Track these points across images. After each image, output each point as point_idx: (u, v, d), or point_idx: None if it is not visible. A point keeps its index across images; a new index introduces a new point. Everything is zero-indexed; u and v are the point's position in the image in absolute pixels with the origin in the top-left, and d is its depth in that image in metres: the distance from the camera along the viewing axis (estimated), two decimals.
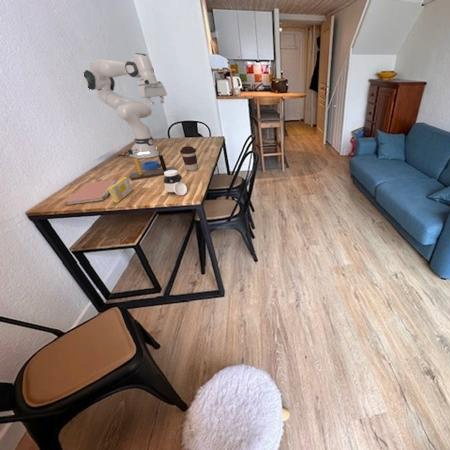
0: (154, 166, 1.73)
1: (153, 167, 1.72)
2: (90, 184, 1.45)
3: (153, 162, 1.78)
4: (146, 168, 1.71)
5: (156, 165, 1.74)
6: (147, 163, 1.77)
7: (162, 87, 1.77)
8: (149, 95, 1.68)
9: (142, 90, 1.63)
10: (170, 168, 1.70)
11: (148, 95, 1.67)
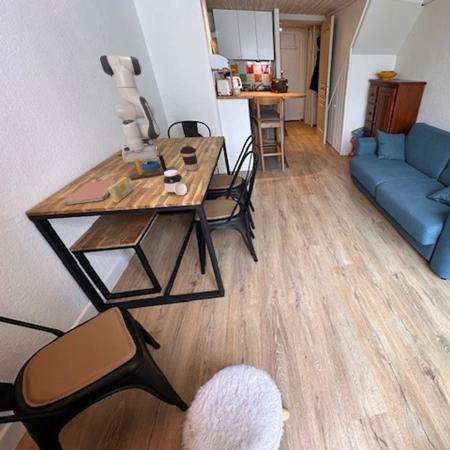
0: (154, 166, 1.73)
1: (153, 167, 1.72)
2: (90, 184, 1.45)
3: (153, 162, 1.78)
4: (146, 168, 1.71)
5: (156, 165, 1.74)
6: (147, 163, 1.77)
7: (151, 151, 1.71)
8: (130, 160, 1.66)
9: (122, 155, 1.64)
10: (170, 168, 1.70)
11: (129, 160, 1.66)
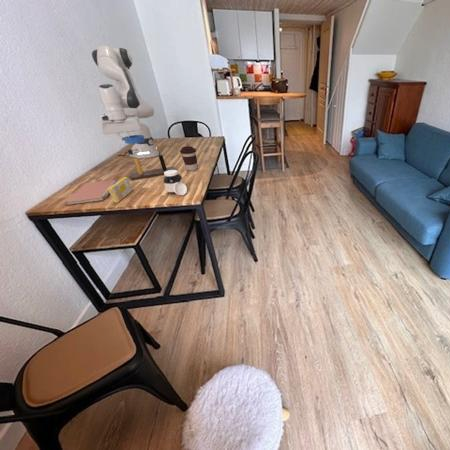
0: (138, 139, 1.53)
1: (137, 140, 1.52)
2: (90, 184, 1.45)
3: (137, 136, 1.59)
4: (129, 141, 1.51)
5: (140, 138, 1.54)
6: (130, 137, 1.57)
7: (134, 122, 1.51)
8: (110, 132, 1.47)
9: None
10: (170, 168, 1.70)
11: (108, 132, 1.46)
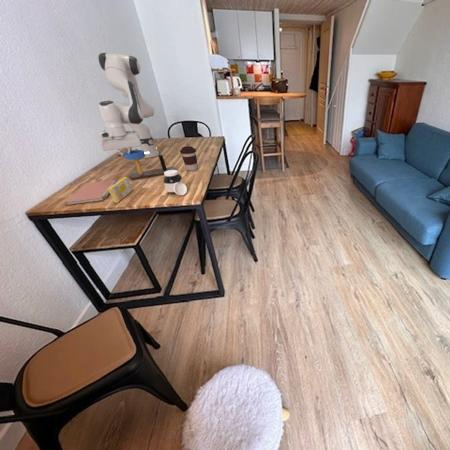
0: (138, 155, 1.51)
1: (137, 156, 1.51)
2: (90, 184, 1.45)
3: (138, 151, 1.57)
4: (129, 157, 1.50)
5: (140, 154, 1.52)
6: (131, 152, 1.56)
7: (134, 138, 1.49)
8: (110, 148, 1.45)
9: (100, 142, 1.42)
10: (170, 168, 1.70)
11: (108, 148, 1.45)
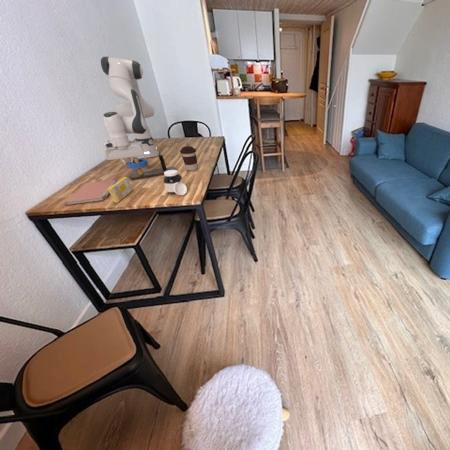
0: (141, 164, 1.54)
1: (140, 166, 1.54)
2: (90, 184, 1.45)
3: (140, 160, 1.60)
4: (132, 167, 1.53)
5: (143, 163, 1.55)
6: (134, 161, 1.59)
7: (137, 147, 1.52)
8: (113, 158, 1.48)
9: (104, 152, 1.45)
10: (170, 168, 1.70)
11: (112, 158, 1.48)
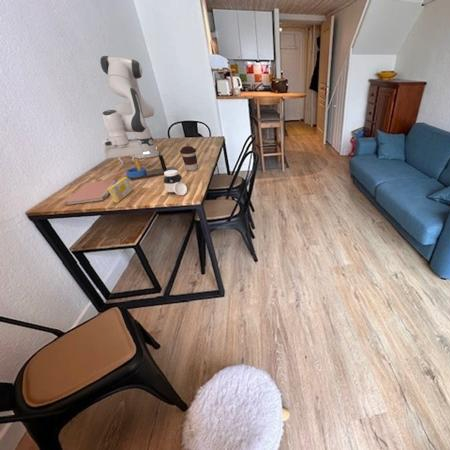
0: (140, 173, 1.56)
1: (139, 174, 1.56)
2: (90, 184, 1.45)
3: None
4: (131, 175, 1.55)
5: (142, 172, 1.57)
6: (132, 170, 1.60)
7: (137, 146, 1.52)
8: (113, 156, 1.48)
9: None
10: (170, 168, 1.70)
11: (111, 156, 1.47)
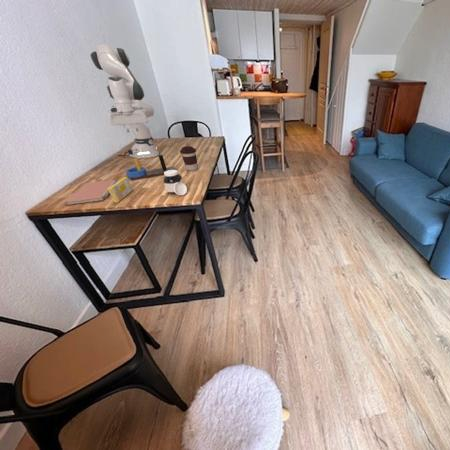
0: (140, 173, 1.56)
1: (139, 174, 1.56)
2: (90, 184, 1.45)
3: None
4: (131, 175, 1.55)
5: (142, 172, 1.57)
6: (132, 170, 1.60)
7: (141, 114, 1.55)
8: (118, 123, 1.51)
9: (109, 117, 1.48)
10: (170, 168, 1.70)
11: (116, 123, 1.51)
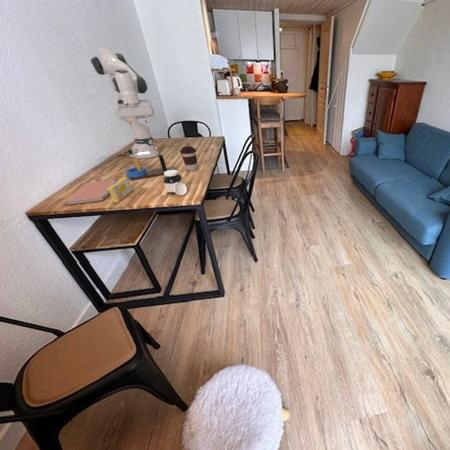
0: (140, 173, 1.56)
1: (139, 174, 1.56)
2: (90, 184, 1.45)
3: None
4: (131, 175, 1.55)
5: (142, 172, 1.57)
6: (132, 170, 1.60)
7: (147, 106, 1.60)
8: (124, 115, 1.56)
9: (115, 109, 1.53)
10: (170, 168, 1.70)
11: (123, 115, 1.55)
